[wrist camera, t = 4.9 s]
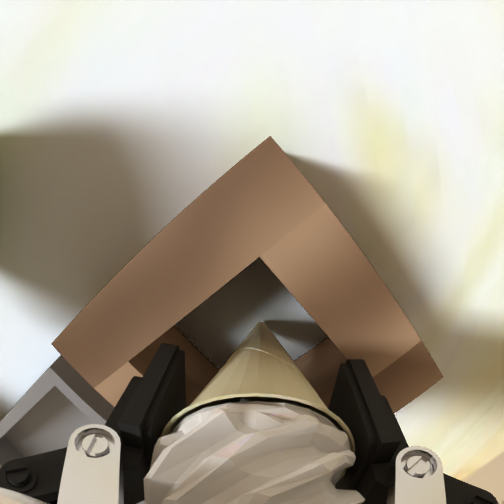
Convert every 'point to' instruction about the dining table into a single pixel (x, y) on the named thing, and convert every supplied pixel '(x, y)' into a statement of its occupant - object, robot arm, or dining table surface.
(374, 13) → the dining table surface
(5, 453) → the grey tray
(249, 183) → the cone stand
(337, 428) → the ice cream cone
